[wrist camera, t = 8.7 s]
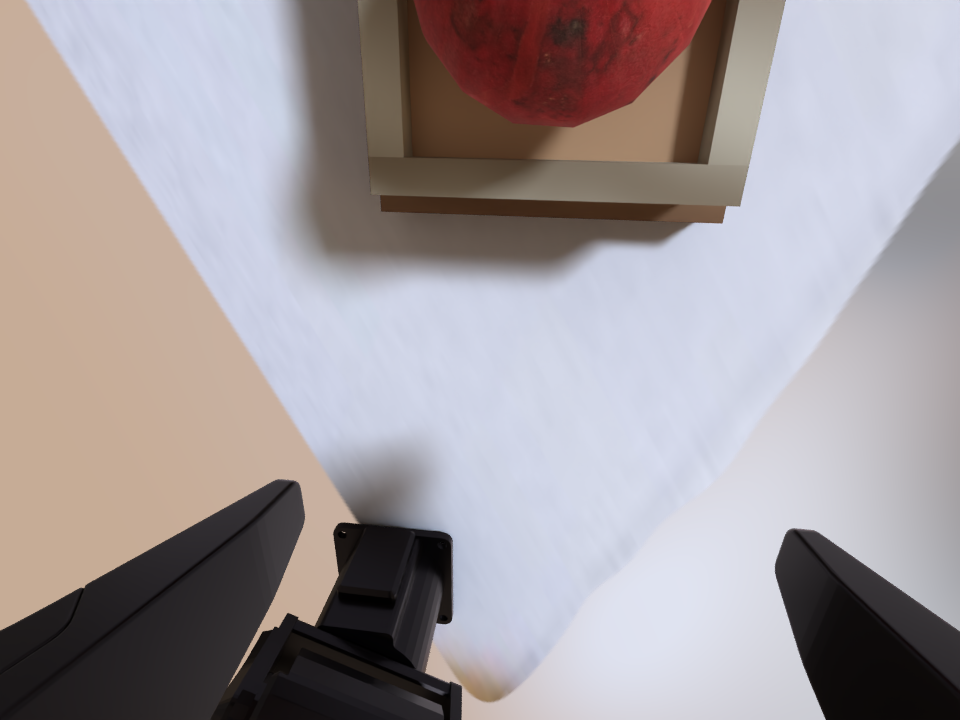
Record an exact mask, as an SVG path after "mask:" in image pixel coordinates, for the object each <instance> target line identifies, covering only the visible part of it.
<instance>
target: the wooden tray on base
mask: <svg viewBox="0 0 960 720" xmlns="http://www.w3.org/2000/svg"><path fill="white" fill-rule="evenodd" d="M785 1H786V0H712V1H711V3H710V5H709V7H708V9H707V11H706V13H705V15H704V17H703V19H702V21H701V23H700V25H699V27H698V28H697V30H696V32H695V34H694V36H693V38H692V40H691V42H690V44H689V45H688V46H687V47H686V49H685V50H684V51H683V52H682V53H681V54H680V55H679V56H678V57H677V58H676V59H675V60H674V61H673V62H672V63H671V64H670V65H669V66H668V67H667V68H666V69H665V70H664V71H663V72H662V73H661V74H660V75H659V76H658V77H657V78H656V79H655V80H654V81H653V82H652V83H651V84H650V85H649V86H648V87H647V88H646V89H645V90H644V91H643V92H642V93H641V94H640V95H639V96H638V98H637V99H636V100H635V101H634V102H633V103H631V104H629V105H626V106H624V107H622V108H619V109H617V110H614V111H612V112H610V113H607V114H605V115H603V116H600V117H598V118H595V119H593V120H591V121H588V122H586V123H583V124H581V125H579V126H576V127H574V128H571V127H557V126H542V125H528V124H513V123H512V122H510V121H508V120H507V119H505V118H504V117H502V116H500V115H499V114H497V113H496V112H494V111H493V110H491V109H489V108H488V107H486V106H485V105H483V104H481V103H480V102H478V101H477V100H475V99H473V98H472V97H470V96H469V95H467V94H466V93H464V92H462V90H461V89H460V87H459V86H458V85H457V83H456V82H455V80H454V79H453V77H452V76H451V75H450V73H449V72H448V70H447V69H446V68H445V66H444V65H443V63H442V62H441V61H440V59H439V58H438V56H437V55H436V54H435V52H434V51H433V49H432V48H431V47H430V45H429V44H428V42H427V41H426V39H425V36H424V34H423V32H422V29H421V25H420V22H419V18H418V14H417V11H416V7H415V3H414V0H357V2H358V16H359V31H360V45H361V60H362V74H363V89H364V103H365V118H366V132H367V147H368V161H369V176H370V190H371V195H380V198H381V211H383V212H411V213H440V214H468V215H497V216H525V217H553V218H582V219H610V220H639V221H667V222H696V223H723V218H724V214H725V209H726V206H740V204H741V199H742V195H743V190H744V186H745V181H746V177H747V172H748V168H749V163H750V159H751V154H752V150H753V145H754V141H755V136H756V132H757V127H758V123H759V118H760V114H761V109H762V105H763V100H764V96H765V91H766V87H767V82H768V78H769V73H770V69H771V64H772V60H773V55H774V51H775V46H776V42H777V37H778V33H779V28H780V24H781V19H782V15H783V10H784V6H785Z"/></svg>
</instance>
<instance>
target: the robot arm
mask: <svg viewBox="0 0 960 720" xmlns="http://www.w3.org/2000/svg"><path fill="white" fill-rule="evenodd" d="M304 520H305V513H304V506H303V500H302V493H301V488H300V485H299V483H298V482H296V481H293V480H282V479H281V480H280V479H278V480H275V481H273V482H271V483H269V484H267V485H266V486H264V487H262V488H260V489H258V490H257V491H255V492H253V493H251V494H249V495H248V496H246V497H244V498H242V499H240V500H238V501H237V502H235V503H233V504H231V505H230V506H228V507H226V508H224V509H222V510H220V511H219V512H217V513H215V514H213V515H212V516H210V517H208V518H206V519H204V520H202V521H201V522H199V523H197V524H195V525H193V526H192V527H190V528H188V529H186V530H185V531H183V532H181V533H179V534H177V535H175V536H173V537H172V538H170V539H168V540H166V541H164V542H163V543H161V544H159V545H157V546H155V547H153V548H152V549H150V550H148V551H147V552H144V553H143V554H141V555H139V556H137V557H135V558H134V559H132V560H130V561H128V562H126V563H125V564H123V565H121V566H119V567H117V568H115V569H114V570H112V571H110V572H108V573H107V574H105V575H103V576H101V577H99V578H97V579H96V580H94V581H92V582H90V583H88V584H87V585H86V586H85V588H79V589H77V590H75V591H74V592H72V593H70V594H68V595H66V596H65V597H63V598H61V599H59V600H58V601H56V602H54V603H52V604H50V605H48V606H46V607H45V608H43V609H41V610H39V611H37V612H35V613H33V614H31V615H30V616H28V617H26V618H24V619H22V620H20V621H18V622H17V623H15V624H13V625H11V626H9V627H7V628H5V629H3V630H1V631H0V720H461V714H462V713H461V712H462V710H461V707H462V702H461V701H462V686H460V685H458V684H456V683H453V682H450V683H448V682H445V681H443V680H440V679H438V678H436V677H433V676H431V675H428V674H426V673H425V671H426V666H427V662H428V657H429V653H430V648H431V644H432V640H433V635H434V631H435V627H436V623H438V624H448V623H450V622H451V621H452V616H453V540H452V538H451V536H450V535H448V534H446V533H440V532H431V531H421V530H411V529H402V528H392V527H382V526H373V525H363V524H353V523H339V524H338V525H337V526H336V528H335V530H334V533H333V535H334V543H335V550H336V557H337V565H338V572H339V576H338V578H337V581H336V583H335V585H334V587H333V589H332V591H331V593H330V595H329V597H328V599H327V602H326V604H325V606H324V608H323V610H322V612H321V614H320V616H319V618H318V621H317V623H316V625H315V627H314V626H312V625H310V624H307V623H305V622H302V621H300V620H298V617H296V616H294V615H292V614H289V613H287V615H286V617H285V618H284V620H283V622H282V623H281V625H280V627H279V628H277V627H274V629H273V630H269V631H263V632H262V634H261V636H260V637H259V639H258V641H257V643H256V644H255V646H254V648H253V650H252V651H251V653H250V655H249V656H248V658H247V660H246V662H245V663H244V665H243V666H242V668H241V669H240V671H239V672H238V674H237V675H236V676H235V678H234V679H233V681H232V682H231V683H230V681H231V679H232V677H233V675H234V674H235V672H236V670H237V668H238V666H239V664H240V662H241V660H242V658H243V656H244V655H245V653H246V651H247V649H248V647H249V645H250V643H251V641H252V640H253V638H254V636H255V634H256V632H257V630H258V628H259V626H260V624H261V622H262V620H263V619H264V617H265V615H266V613H267V611H268V609H269V607H270V605H271V603H272V601H273V599H274V597H275V594H276V592H277V590H278V587H279V585H280V582H281V580H282V578H283V575H284V572H285V570H286V568H287V565H288V563H289V560H290V558H291V555H292V553H293V550H294V548H295V545H296V543H297V540H298V538H299V535H300V533H301V530H302V528H303V524H304ZM342 531H343V532H345V533H343V532H342ZM441 542H444V543H445V544H443V543H441ZM775 574H776V579H777V582H778V585H779V589H780V592H781V595H782V598H783V601H784V605H785V608H786V612H787V615H788V618H789V621H790V625H791V628H792V631H793V635H794V638H795V641H796V644H797V647H798V651H799V654H800V657H801V660H802V663H803V666H804V668H805V670H806V673H807V676H808V678H809V681H810V683H811V686H812V688H813V690H814V692H815V695H816V698H817V700H818V702H819V705H820V707H821V709H822V712H823V714H824V717H825V719H826V720H960V631H958V630H957V629H956V628H954V627H953V626H951V625H950V624H948V623H947V622H946V621H944V620H943V619H941V618H940V617H938V616H937V615H936V614H934V613H932V612H931V611H930V610H928V609H927V608H925V607H924V606H923V605H921V604H920V603H918V602H917V601H915V600H914V599H913V598H911V597H910V596H908V595H907V594H906V593H904V592H902V591H901V590H900V589H898V588H897V587H896V586H894V585H893V584H891V583H890V582H888V581H887V580H885V579H884V578H883V577H881V576H880V575H878V574H877V573H876V572H874V571H872V570H871V569H870V568H868V567H867V566H865V565H864V564H863V563H861V562H860V561H858V560H857V559H855V558H854V557H853V556H851V555H850V554H848V553H847V552H845V551H844V550H843V549H841V548H840V547H838V546H837V545H835V544H834V543H832V542H831V541H830V540H828V539H827V538H825V537H824V536H823V535H821V534H820V533H818V532H816V531H813V530H805V529H795V528H794V529H790V530H788V531H787V532H786V534H785V537H784V540H783V542H782V545H781V548H780V551H779V554H778V557H777V560H776V563H775ZM229 683H230V685H229ZM228 685H229V686H228Z"/></svg>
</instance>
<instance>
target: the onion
mask: <svg viewBox="0 0 960 720" xmlns="http://www.w3.org/2000/svg"><path fill="white" fill-rule="evenodd" d="M711 1H712V0H414V3H415V7H416V11H417V14H418V18H419V22H420V25H421V29H422V32H423V34H424V36H425V39H426V41H427V42H428V44H429V45H430V47H431V48H432V49H433V51H434V52H435V54H436V55H437V56H438V58H439V59H440V61H441V62H442V63H443V65H444V66H445V68H446V69H447V70H448V72H449V73H450V75H451V76H452V77H453V79H454V80H455V82H456V83H457V85H458V86H459V87H460V89H461V90H462V92H464V93H466V94H467V95H469V96H470V97H472V98H473V99H475V100H477V101H478V102H480V103H481V104H483V105H485V106H486V107H488V108H489V109H491V110H493V111H494V112H496V113H497V114H499V115H500V116H502V117H504V118H505V119H507V120H508V121H510V122H512V123H513V124H528V125H542V126H557V127H571V128H574V127H576V126H579V125H581V124H583V123H586V122H588V121H591V120H593V119H595V118H598V117H600V116H603V115H605V114H607V113H610V112H612V111H614V110H617V109H619V108H622V107H624V106H626V105H629V104H631V103H633V102H634V101H635V100H636V99H637V98H638V96H639V95H640V94H641V93H642V92H643V91H644V90H645V89H646V88H647V87H648V86H649V85H650V84H651V83H652V82H653V81H654V80H655V79H656V78H657V77H658V76H659V75H660V74H661V73H662V72H663V71H664V70H665V69H666V68H667V67H668V66H669V65H670V64H671V63H672V62H673V61H674V60H675V59H676V58H677V57H678V56H679V55H680V54H681V53H682V52H683V51H684V50H685V49H686V47H687V46H688V45H689V44H690V42H691V40H692V38H693V36H694V34H695V32H696V30H697V28H698V27H699V25H700V23H701V21H702V19H703V17H704V15H705V13H706V11H707V9H708V7H709V5H710V3H711Z"/></svg>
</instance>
